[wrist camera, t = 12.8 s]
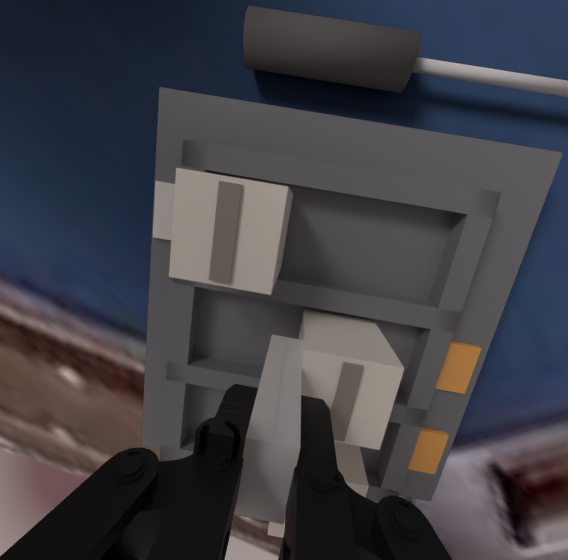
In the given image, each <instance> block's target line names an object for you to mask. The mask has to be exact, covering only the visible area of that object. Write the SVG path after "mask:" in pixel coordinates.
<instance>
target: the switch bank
mask: <svg viewBox="0 0 568 560" xmlns="http://www.w3.org/2000/svg"><path fill="white" fill-rule="evenodd" d="M562 154H563V153H562V152H556V151H550V150H543V149H537V148H531V147H525V146H519V145H513V144H507V143H500V142H494V141H488V140H482V139H476V138H470V137H464V136H458V135H451V134H445V133H439V132H433V131H427V130H421V129H415V128H408V127H402V126H396V125H390V124H384V123H378V122H372V121H366V120H359V119H353V118H347V117H341V116H335V115H329V114H323V113H316V112H310V111H304V110H298V109H292V108H286V107H280V106H273V105H267V104H261V103H255V102H249V101H243V100H237V99H231V98H224V97H218V96H212V95H206V94H200V93H194V92H188V91H181V90H175V89H169V88H163V87H159V105H158V125H157V145H156V165H155V184H154V204H153V224H152V244H151V263H150V283H149V303H148V323H147V342H146V362H145V382H144V402H143V421H142V441H141V445H143V446H149V447H154V448H159V449H161V454H160V461H169V460H177V459H182V458H185V457H187V456H190V455H191V454H193V452H194V442H195V433H196V429H197V428H198V426H199V425H200V424H201V423H202V422H204V421H206V420H207V419H209V418H213V417H215V415H216V413H217V411H218V409H219V406H220V404H221V402H222V399H223V397H224V394H225V392H226V390H228V389H229V388H230V387H231V386H232V385H234V384H240V385H245V386H250V387H256V388H258V387H259V383H260V379H261V376H262V372H263V368H264V364H265V360H266V356H267V352H268V348H269V344H270V340H271V336H272V335H278V336H283V337H289V338H294V339H298V338H299V333H300V327H301V322H302V317H303V312H304V308H307V309H313V310H318V311H324V312H330V313H335V314H341V315H346V316H352V317H357V318H363V319H368V320H374V321H375V323H376V324H377V326H378V327H379V329H380V330H381V332H382V334H383V335H384V337H385V338H386V340H387V341H388V343H389V345H390V346H391V348H392V349H393V351H394V352H395V354H396V356H397V357H398V359H399V360H400V362H401V363H402V365H403V367H404V371H403V375H402V378H401V381H400V385H399V388H398V391H397V394H396V398H395V401H394V404H393V408H392V411H391V414H390V417H389V421H388V424H387V427H386V431H385V434H384V437H383V440H382V444H381V447H380V450H377V449H371V448H366V447H361V446H359V447H360V451H361V455H362V460H363V464H364V468H365V472H366V476H367V481H368V485H369V488H368V491H367V494H366V498H368V499H370V500H371V501H373V502H375V503H379V501H380V500H381V499H382V498H383V497H387V496H390V495H391V496H397V497H398V496H399V495H400V496H405V497H411V498H416V499H421V500H426V501H431V499H432V497H433V494H434V491H435V489H436V486H437V484H438V481H439V478H440V476H441V473H442V470H443V468H444V465H445V462H446V460H447V457H448V455H449V452H450V449H451V447H452V444H453V441H454V439H455V436H456V433H457V431H458V428H459V426H460V423H461V420H462V418H463V415H464V412H465V410H466V407H467V404H468V402H469V399H470V397H471V394H472V391H473V389H474V386H475V383H476V381H477V378H478V375H479V373H480V370H481V368H482V365H483V362H484V360H485V357H486V354H487V352H488V349H489V346H490V344H491V341H492V339H493V336H494V333H495V331H496V328H497V325H498V323H499V320H500V317H501V315H502V312H503V310H504V307H505V304H506V302H507V299H508V296H509V294H510V291H511V288H512V286H513V283H514V281H515V278H516V275H517V273H518V270H519V267H520V265H521V262H522V259H523V257H524V254H525V252H526V249H527V246H528V244H529V241H530V238H531V236H532V233H533V230H534V228H535V225H536V223H537V220H538V217H539V215H540V212H541V209H542V207H543V204H544V201H545V199H546V196H547V194H548V191H549V188H550V186H551V183H552V180H553V178H554V175H555V172H556V170H557V167H558V165H559V162H560V159H561V157H562ZM176 168H182V169H188V170H193V171H199V172H205V173H211V174H217V175H223V176H229V177H235V178H241V179H247V180H252V181H258V182H264V183H270V184H276V185H282V186H288V187H289V188H290V190H291V191H292V193H293V199H292V205H291V211H290V217H289V223H288V229H287V235H286V241H285V247H284V253H283V259H282V265H281V270H280V272H279V275H278V278H277V280H276V283H275V285H274V288H273V291H272V293H271V295H268V294H263V293H257V292H252V291H246V290H240V289H235V288H229V287H224V286H218V285H213V284H207V283H201V282H196V281H190V280H185V279H179V278H174V277H169V267H170V252H171V238H172V223H173V208H174V193H175V179H176Z"/></svg>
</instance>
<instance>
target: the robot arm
mask: <svg viewBox="0 0 568 560" xmlns="http://www.w3.org/2000/svg"><path fill="white" fill-rule="evenodd" d="M301 356H302V340H300V339H294V338H289V337H283V336H278V335H272V336H271V340H270V344H269V348H268V352H267V356H266V360H265V364H264V368H263V372H262V376H261V379H260V383H259V387H258V388H256V387H250V386H245V385H240V384H234V385H232V386H231V387H230V388H229V389H228V390H226V392H225V394H224V397H223V399H222V402H221V404H220V406H219V409H218V411H217V413H216V415H215V417H213V418H209V419H207V420H206V421H204V422H202V423H201V424H200V425H199V426H198V428H197V429H196V433H195V442H194V452H193V454H191V455H190V456H187V457H185V458H182V459H177V460H169V461H160V462H159V460H158V457H157V455H156V454H155V453H154V452H152V451H151V450H149V449H145V448H130V449H127V450H125V451H122V452H119V453H118V454H116V455H115V456H113V457H112V458H110V459H109V460H108V461H107V462H106V463H105V464H103V465H102V466H101V467H100V468H99V469H98V470H97V471H96V472H94V473H93V474H92V475H91V476H90V477H89V478H88V479H87V480H85V481H84V482H83V483H82V484H81V485H80V486H79V487H78V488H77V489H75V490H74V491H73V492H72V493H71V494H70V495H69V496H68V497H66V499H64V500H63V501H62V502H61V503H60V504H59V505H58V506H56V507H55V508H54V509H53V510H52V511H51V512H50V513H49V514H47V515H46V516H45V517H44V518H43V519H42V520H41V521H40V522H38V523H37V524H36V525H35V526H34V527H33V528H32V529H31V530H30V531H28V532H27V533H26V534H25V535H24V536H23V537H22V538H21V539H19V540H18V541H17V542H16V543H15V544H14V545H13V546H12V547H10V548H9V549H8V550H7V551H6V552H5V553H4V554H3V555H2V556H0V560H224V559H225V555H226V550H227V546H228V542H229V537H230V531H231V525H232V520H233V516H234V515H239V516H244V517H249V518H254V519H259V520H264V521H269V522H274V523H279V524H284V520H285V531H284V537H283V541H282V546H281V550H280V555H279V559H278V560H452V559H451V557H450V556H449V554H448V552H447V551H446V549H445V547H444V546H443V544H442V542H441V541H440V539H439V538H438V536H437V534H436V533H435V531H434V529H433V528H432V526H431V524H430V523H429V521H428V520H427V518H426V517H425V516H424V514H423V513H422V512H421V511H420V510H419V509H418V508H417V507H416V506H414V505H413V504H412V503H411V502H409V501H407V500H405V499H403V498H401V497H397V496H391V495H390V496H387V497H383V498H382V499H381V500H380V501H379V503H378V504H377V503H375V502H373V501H371V500H370V499H368V498H366V497H364V496H362V495H360V494H358V493H357V492H355V491H354V490H353V489H352V488H350V487H349V486H348V485H347V484H346V482H345V480H344V477H343V475H342V474H341V472H340V471H339V470H338V466H337V459H336V452H335V444H334V437H333V431H332V422H331V414H330V409H329V407H328V406H327V404H326V403H325V401H324V400H323V399H319V398H314V397H308V396H303V395H301Z"/></svg>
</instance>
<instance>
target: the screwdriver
mask: <svg viewBox="0 0 568 560" xmlns="http://www.w3.org/2000/svg"><path fill="white" fill-rule="evenodd" d="M420 41H421V33H420V32H418V31H411V30H405V29H398V28H392V27H385V26H379V25H372V24H366V23H360V22H353V21H347V20H340V19H334V18H327V17H321V16H314V15H308V14H301V13H295V12H288V11H282V10H275V9H269V8H263V7H256V6H248V8H247V10H246V15H245V21H244V31H243V52H244V61H245V65H246V68H248V69H254V70H260V71H266V72H273V73H279V74H285V75H291V76H298V77H304V78H310V79H316V80H323V81H329V82H335V83H341V84H348V85H354V86H360V87H366V88H373V89H379V90H385V91H391V92H398V93H401V92H402V91H403V90H404V88H405V87H406V85H407V83H408V80H409V78H410V76H411V73H412V72H413V73H420V74H426V75H432V76H439V77H445V78H451V79H458V80H464V81H470V82H476V83H483V84H489V85H495V86H502V87H508V88H514V89H521V90H527V91H533V92H540V93H546V94H552V95H559V96H565V97H568V81H566V80H560V79H553V78H547V77H541V76H534V75H528V74H521V73H515V72H509V71H502V70H496V69H490V68H483V67H477V66H470V65H464V64H458V63H451V62H445V61H439V60H432V59H426V58H419V57H417V55H418V51H419V46H420Z"/></svg>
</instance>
